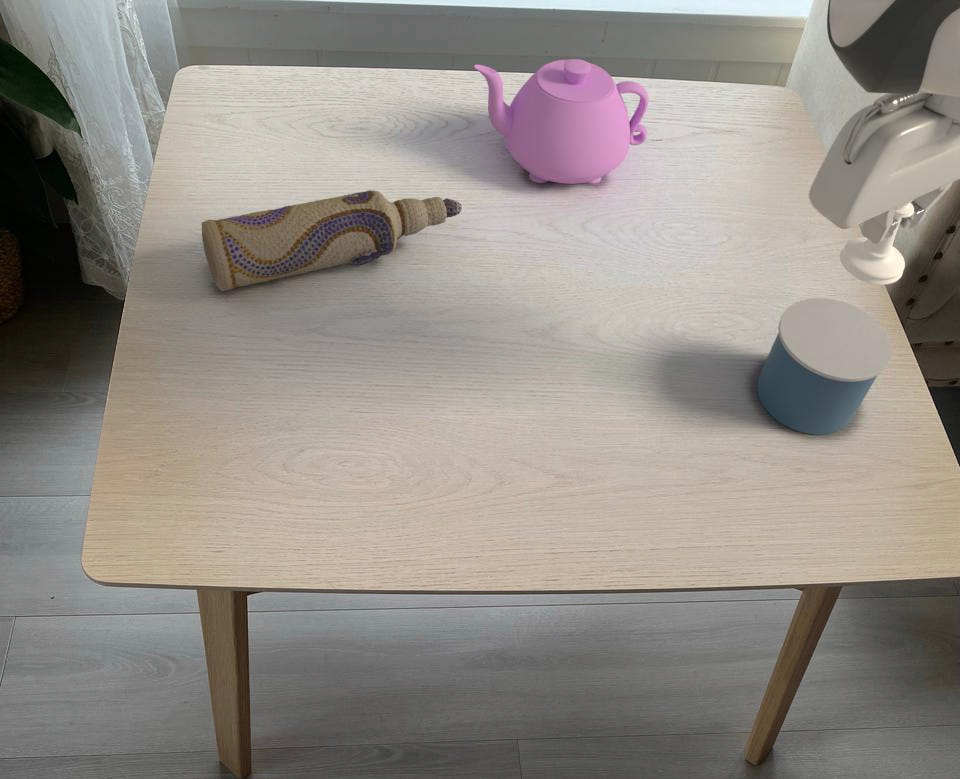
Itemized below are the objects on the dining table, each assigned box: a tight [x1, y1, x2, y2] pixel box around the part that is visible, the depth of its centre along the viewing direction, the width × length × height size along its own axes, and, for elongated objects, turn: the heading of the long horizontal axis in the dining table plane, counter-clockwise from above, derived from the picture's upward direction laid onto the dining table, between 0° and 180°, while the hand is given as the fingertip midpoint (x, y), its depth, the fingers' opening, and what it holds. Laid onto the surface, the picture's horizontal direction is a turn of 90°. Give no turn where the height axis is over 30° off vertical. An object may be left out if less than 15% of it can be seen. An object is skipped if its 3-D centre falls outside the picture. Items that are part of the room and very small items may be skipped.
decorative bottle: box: [200, 189, 463, 292], centre depth 93 cm, size 26×8×7 cm, turn 112°
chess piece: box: [839, 200, 914, 286], centre depth 71 cm, size 5×5×10 cm
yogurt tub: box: [756, 297, 893, 436], centre depth 85 cm, size 10×10×8 cm
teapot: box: [473, 58, 650, 185], centre depth 104 cm, size 20×14×12 cm
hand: (889, 229), depth 72 cm, fingers closed on chess piece
